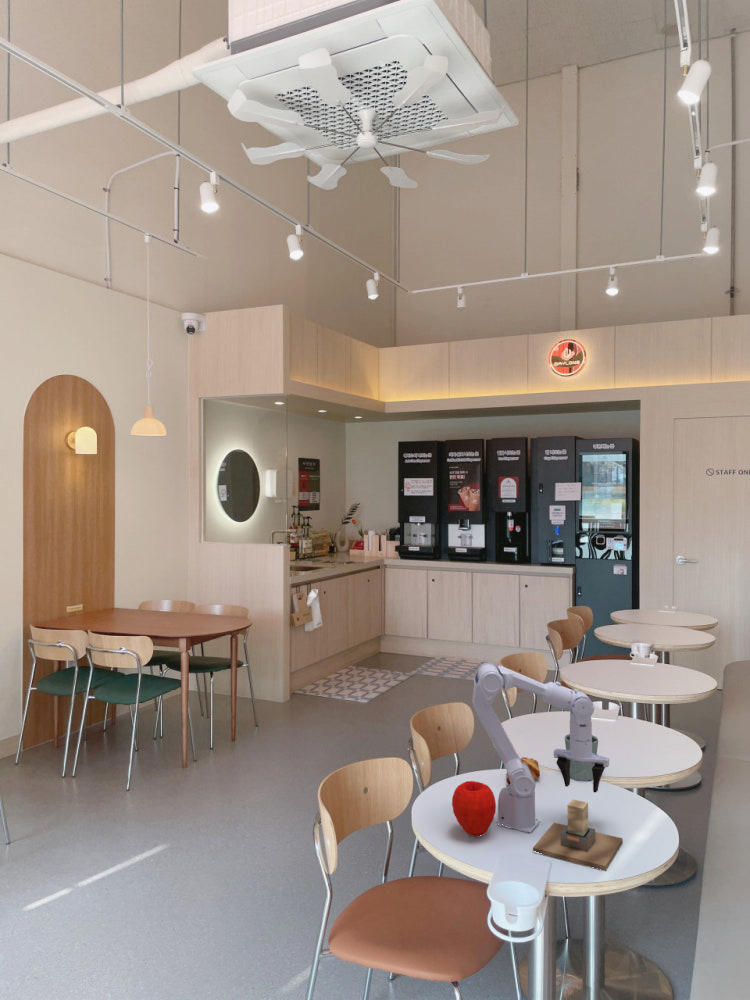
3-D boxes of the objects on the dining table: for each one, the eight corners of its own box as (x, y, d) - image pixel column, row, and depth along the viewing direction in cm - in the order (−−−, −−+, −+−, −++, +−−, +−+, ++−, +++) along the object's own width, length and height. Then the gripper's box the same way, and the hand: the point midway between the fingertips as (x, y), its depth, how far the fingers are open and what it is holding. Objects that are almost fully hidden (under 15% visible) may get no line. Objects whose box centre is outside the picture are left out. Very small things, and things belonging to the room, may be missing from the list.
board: (532, 852, 188) (532, 847, 188) (554, 826, 201) (554, 822, 201) (605, 871, 178) (605, 866, 178) (622, 842, 192) (622, 838, 192)
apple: (444, 827, 202) (443, 778, 202) (482, 820, 206) (481, 771, 206) (464, 847, 191) (463, 795, 191) (505, 838, 195) (504, 788, 195)
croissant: (527, 776, 245) (516, 752, 247) (553, 767, 240) (542, 743, 242) (502, 799, 227) (491, 773, 229) (530, 789, 222) (518, 763, 224)
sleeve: (560, 846, 188) (559, 834, 188) (569, 834, 195) (569, 822, 194) (587, 852, 185) (586, 840, 185) (595, 840, 191) (595, 828, 191)
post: (567, 832, 189) (567, 805, 189) (572, 826, 193) (572, 799, 192) (583, 836, 187) (583, 808, 187) (588, 829, 190) (588, 802, 190)
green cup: (564, 780, 232) (563, 741, 232) (565, 768, 242) (565, 731, 242) (598, 783, 229) (598, 744, 229) (598, 771, 239) (598, 733, 239)
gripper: (612, 738, 201) (612, 788, 202) (559, 729, 209) (559, 777, 210) (604, 746, 195) (605, 797, 196) (550, 737, 203) (551, 786, 204)
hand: (581, 788), depth 202 cm, fingers open, 7 cm apart
